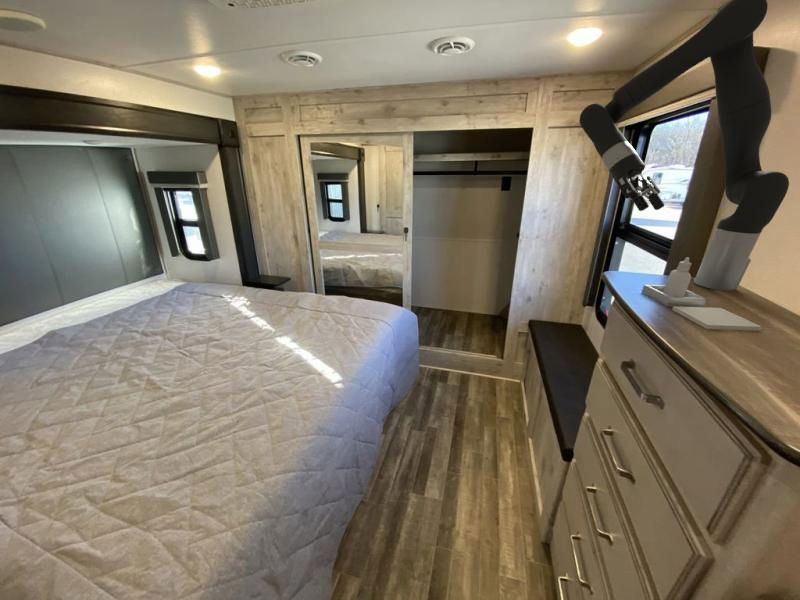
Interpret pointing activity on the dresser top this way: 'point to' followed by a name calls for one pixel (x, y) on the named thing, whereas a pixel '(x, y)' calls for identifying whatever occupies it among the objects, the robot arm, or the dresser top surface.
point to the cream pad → (716, 318)
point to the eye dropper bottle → (678, 280)
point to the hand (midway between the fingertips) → (652, 208)
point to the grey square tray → (686, 301)
